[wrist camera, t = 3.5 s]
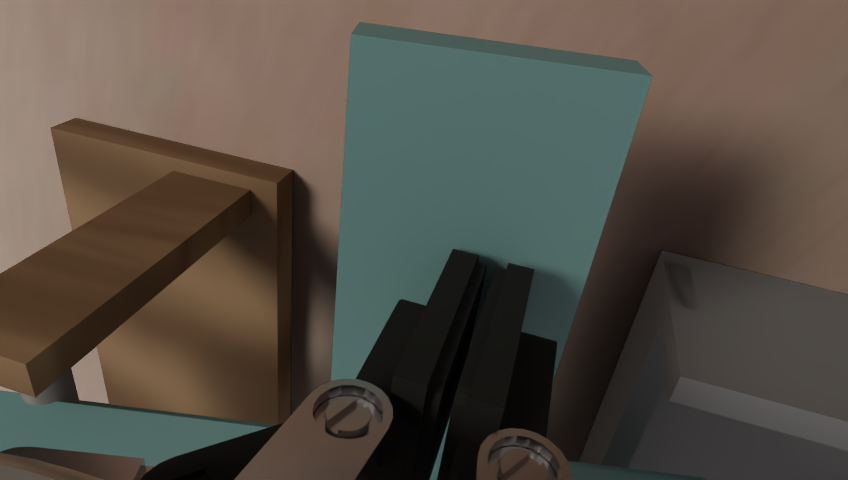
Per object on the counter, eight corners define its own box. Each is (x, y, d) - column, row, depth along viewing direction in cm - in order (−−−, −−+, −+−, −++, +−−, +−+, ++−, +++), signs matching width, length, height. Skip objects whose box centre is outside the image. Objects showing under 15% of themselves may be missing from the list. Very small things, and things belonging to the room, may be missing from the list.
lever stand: (75, 117, 22) (-271, 252, 14) (292, 170, 21) (61, 359, 12) (128, 398, 30) (-72, 600, 21) (289, 451, 29) (146, 692, 20)
